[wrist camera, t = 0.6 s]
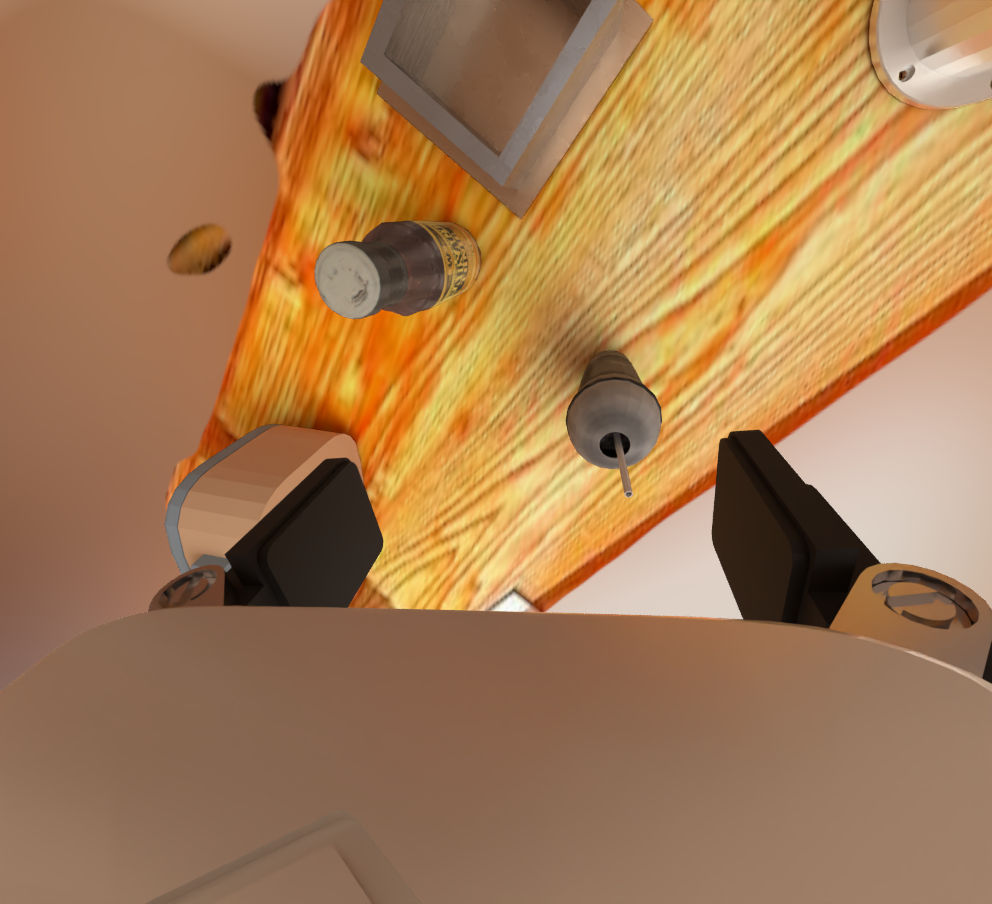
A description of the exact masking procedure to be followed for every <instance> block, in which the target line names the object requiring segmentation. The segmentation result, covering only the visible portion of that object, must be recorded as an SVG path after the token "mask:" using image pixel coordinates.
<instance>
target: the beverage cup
mask: <svg viewBox="0 0 992 904" xmlns="http://www.w3.org/2000/svg"><path fill="white" fill-rule="evenodd" d="M661 423H662V415H661V407H660V405H659V403H658V401H657V399H656V396H655V395H654V394H653V393H652V392H651V391H650V390H649V389H648V388H647V387H646V386H645V385H643V384H642V382H641V380H640V378H639V376H638V375H637V373H636V371H635V369H634V367H633V366H632V364H631V362H630V361H629V360H628V359H627V358H626V357H625V356H624V355H623V354H621V353H619V352H617V351H604V352H601V353H599V354H597V355H595V356H594V357H593V358H592V359H591V360H590V362H589V364H588V366H587V368H586V370H585V372H584V375H583V378H582V381H581V384H580V387H579V390H578V393H577V394H576V395H575V396H574V398H573V400H572V401H571V403H570V405H569V407H568V410H567V416H566V425H567V430H568V434H569V436H570V440H571V442H572V444H573V446H574V447H575V449H576V451H577V452H578V453H579V454H580V455H581V456H582V457H583V458H584V459H585V460H587V461H588V462H589V463H592V464H594V465H596V466H598V467H601V468H607V469H620V473H621V478H622V483H623V488H624V493H625V496H626V497H631V496H632V495H633V493H632V489H631V484H630V479H629V475H628V470H627V467H628V466H631V465H634V464H636V463H638V462H639V461H640V460H642V459H643V458H644V457H646V456H647V455H648V454H649V452H650V451H651V450H652V448H653V447H654V445H655V444H656V442H657V439H658V436H659V432H660V428H661Z"/></svg>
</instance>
